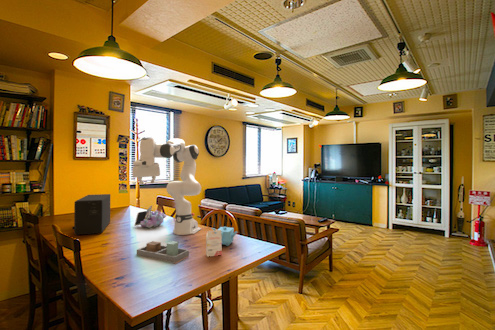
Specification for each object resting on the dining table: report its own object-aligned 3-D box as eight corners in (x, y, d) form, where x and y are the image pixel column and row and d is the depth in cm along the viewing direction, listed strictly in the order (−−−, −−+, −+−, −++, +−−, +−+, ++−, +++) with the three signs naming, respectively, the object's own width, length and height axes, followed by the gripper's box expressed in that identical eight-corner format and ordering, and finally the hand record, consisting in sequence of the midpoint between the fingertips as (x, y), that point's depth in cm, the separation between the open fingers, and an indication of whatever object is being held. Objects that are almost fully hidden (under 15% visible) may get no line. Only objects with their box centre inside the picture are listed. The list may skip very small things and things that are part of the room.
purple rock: (171, 220, 210) (165, 201, 215) (149, 224, 192) (142, 203, 197) (157, 230, 219) (151, 211, 224) (135, 234, 201) (129, 214, 206)
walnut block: (152, 251, 150) (152, 241, 150) (160, 252, 147) (160, 242, 147) (146, 253, 145) (146, 243, 145) (154, 255, 143) (154, 245, 143)
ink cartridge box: (220, 252, 150) (220, 227, 150) (221, 255, 146) (222, 230, 145) (205, 253, 148) (206, 228, 148) (206, 256, 143) (207, 231, 143)
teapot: (234, 248, 157) (234, 230, 157) (206, 246, 161) (206, 228, 161) (239, 241, 173) (240, 224, 173) (214, 239, 176) (215, 223, 176)
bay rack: (152, 249, 155) (152, 243, 154) (188, 256, 144) (188, 250, 144) (136, 255, 143) (136, 249, 143) (175, 263, 133) (175, 257, 133)
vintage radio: (84, 224, 213) (84, 194, 213) (110, 222, 219) (110, 193, 219) (70, 236, 178) (70, 201, 177) (101, 234, 184) (102, 200, 184)
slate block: (171, 255, 144) (172, 241, 144) (178, 256, 142) (178, 242, 142) (166, 257, 140) (166, 243, 140) (173, 259, 138) (173, 244, 138)
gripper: (155, 162, 174) (154, 182, 174) (130, 162, 155) (130, 184, 156) (162, 162, 172) (162, 182, 172) (138, 162, 153) (138, 185, 153)
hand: (147, 183), depth 164 cm, fingers open, 8 cm apart
